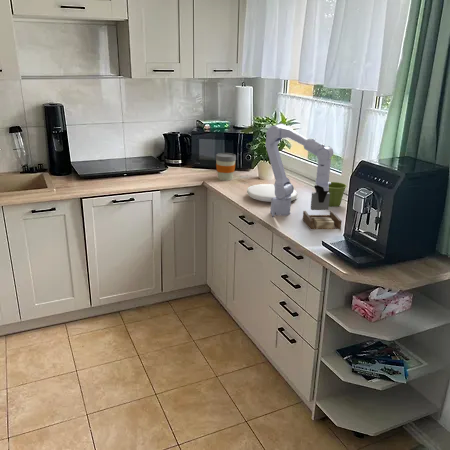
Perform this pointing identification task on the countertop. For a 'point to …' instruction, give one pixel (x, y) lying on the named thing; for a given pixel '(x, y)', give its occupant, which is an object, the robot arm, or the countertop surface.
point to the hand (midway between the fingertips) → (320, 201)
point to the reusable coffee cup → (225, 165)
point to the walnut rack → (310, 218)
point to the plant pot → (336, 193)
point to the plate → (265, 192)
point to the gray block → (319, 206)
